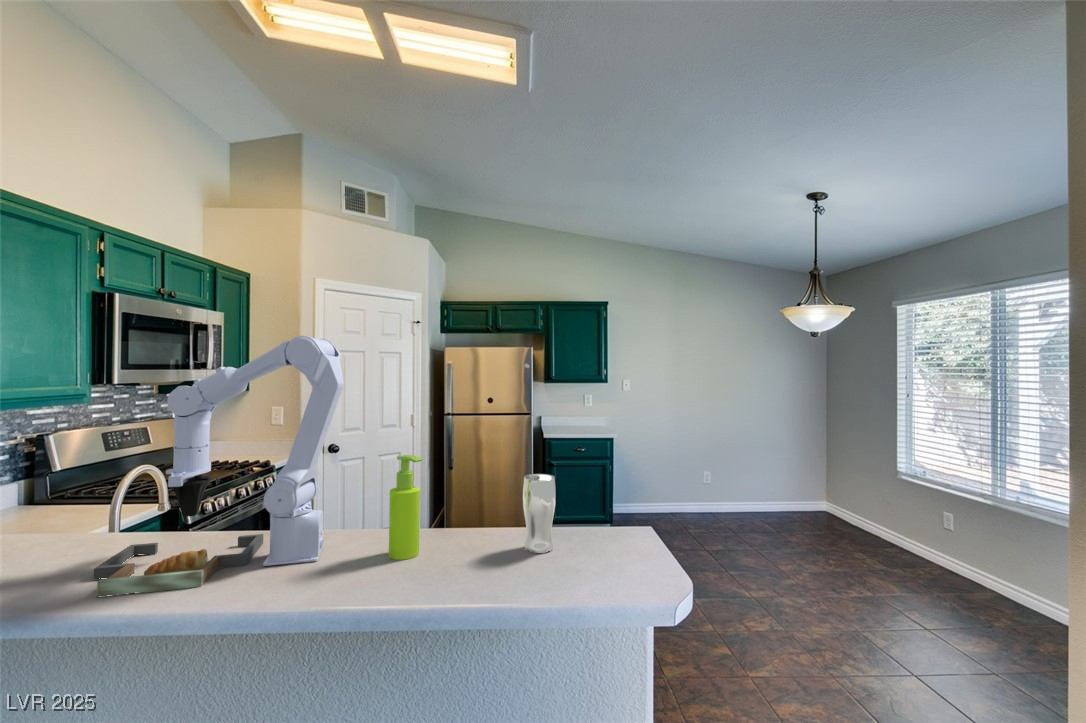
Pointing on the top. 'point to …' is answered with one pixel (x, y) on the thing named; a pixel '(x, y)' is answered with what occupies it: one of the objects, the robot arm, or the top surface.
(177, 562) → the pastry
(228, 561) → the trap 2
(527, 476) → the beer glass
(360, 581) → the top surface
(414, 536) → the soap dispenser
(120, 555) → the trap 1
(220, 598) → the top surface
